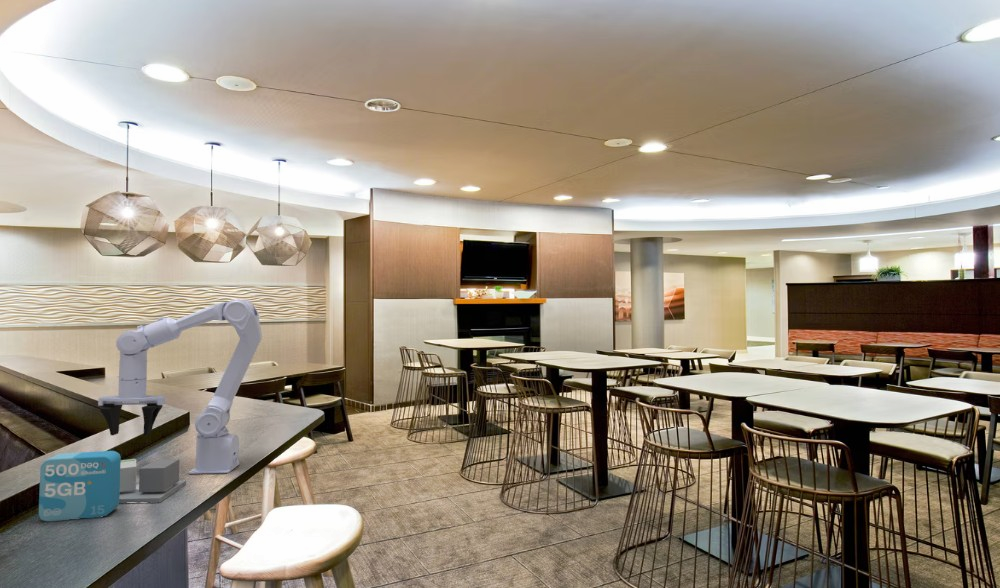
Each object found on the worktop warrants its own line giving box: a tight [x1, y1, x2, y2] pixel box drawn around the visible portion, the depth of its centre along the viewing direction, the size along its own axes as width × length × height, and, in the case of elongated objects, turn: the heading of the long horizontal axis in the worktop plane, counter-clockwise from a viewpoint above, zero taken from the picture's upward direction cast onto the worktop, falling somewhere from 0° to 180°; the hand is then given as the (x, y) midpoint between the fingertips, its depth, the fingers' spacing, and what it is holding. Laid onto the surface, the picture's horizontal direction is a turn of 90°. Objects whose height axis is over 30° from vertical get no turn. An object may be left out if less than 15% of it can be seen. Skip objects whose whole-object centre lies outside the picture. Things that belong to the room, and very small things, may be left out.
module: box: [120, 458, 137, 492], centre depth 120 cm, size 4×7×5 cm, turn 34°
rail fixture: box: [119, 458, 187, 504], centre depth 120 cm, size 20×12×7 cm, turn 97°
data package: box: [38, 450, 122, 522], centre depth 108 cm, size 12×4×12 cm, turn 105°
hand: (131, 434), depth 134 cm, fingers open, 7 cm apart
